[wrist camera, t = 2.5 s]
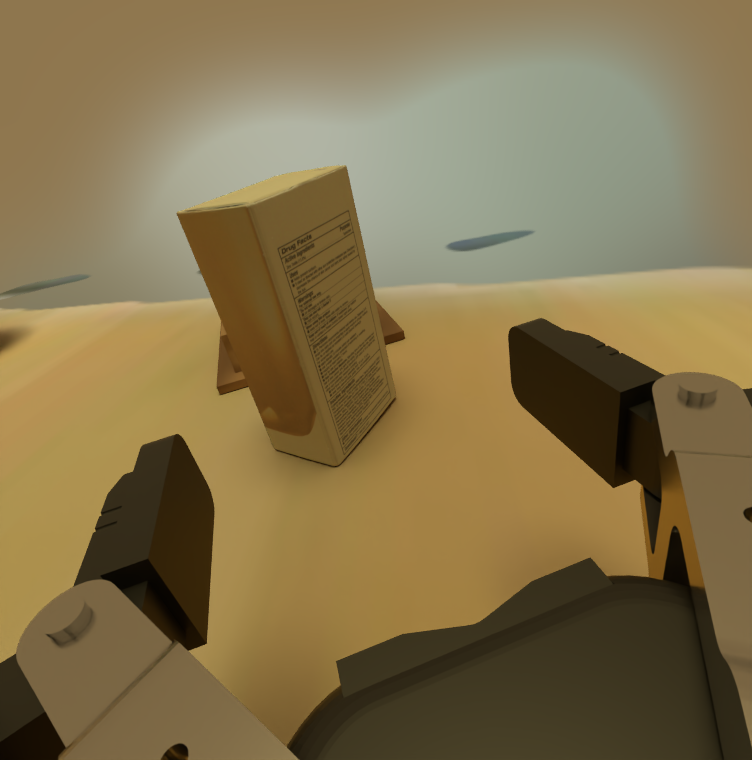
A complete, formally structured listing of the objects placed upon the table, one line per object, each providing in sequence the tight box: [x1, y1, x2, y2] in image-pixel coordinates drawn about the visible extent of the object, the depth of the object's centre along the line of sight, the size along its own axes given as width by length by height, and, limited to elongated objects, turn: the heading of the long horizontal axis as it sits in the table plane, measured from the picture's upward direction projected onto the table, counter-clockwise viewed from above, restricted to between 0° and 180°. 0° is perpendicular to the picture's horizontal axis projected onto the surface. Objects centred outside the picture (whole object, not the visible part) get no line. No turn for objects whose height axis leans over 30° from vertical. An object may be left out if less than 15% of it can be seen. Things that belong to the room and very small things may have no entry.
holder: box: [217, 300, 405, 395], centre depth 36 cm, size 13×13×3 cm
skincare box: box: [177, 165, 396, 466], centre depth 21 cm, size 6×4×12 cm
